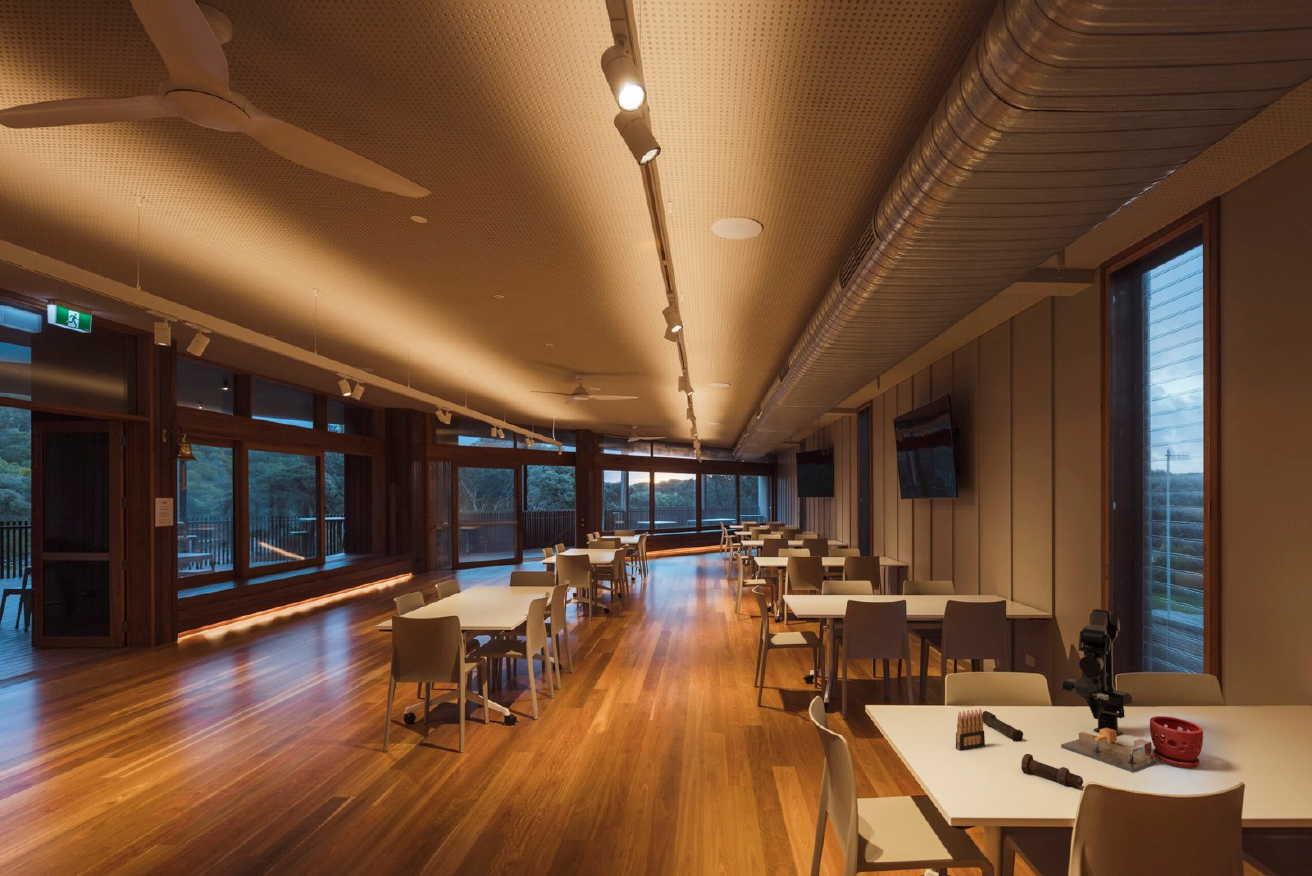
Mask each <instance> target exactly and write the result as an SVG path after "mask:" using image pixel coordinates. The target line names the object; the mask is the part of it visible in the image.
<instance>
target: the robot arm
mask: <svg viewBox="0 0 1312 876" xmlns="http://www.w3.org/2000/svg"><path fill="white" fill-rule="evenodd" d="M1120 631H1121V623H1120V619H1119V617H1118V616H1117V615H1114V614H1113V613H1112V612H1111V611H1110V610H1108V609H1103V608H1102V609H1101V608H1095V609H1092V612H1090V614H1089V625H1084V626H1083V628H1082V629H1081V630H1080V632H1079V640H1078V651H1079V652H1083V656H1082V658H1081V659H1080V660H1079V662H1078V663H1079V664H1078V665H1079V669H1080V671H1082V673H1081V678H1078V679H1074V678H1067V679H1064V680H1061V689H1062V690H1065V691H1067V692H1072V691H1073V690H1074V691H1075V694H1076V695H1079V696H1080V698H1083V699H1084V700H1085V701H1086V703H1087V705H1088V707H1089V710H1090V712H1091V715H1092V717H1093V718H1094V719H1095V720H1097V727H1096V728H1093V732H1098V733H1100V729H1103V728H1110V729H1113V730H1116V736H1120V735H1122V734H1123V731H1119V728H1118V727H1119V723H1118V722H1119V721H1118V719H1123V718H1124V719H1125V708H1124V706H1125V705H1130V704H1132V703H1133V697H1132V695H1131V693H1129V692H1125V691H1121V690H1117V689H1116V687H1115V685H1114V652H1113V651H1114V649H1113V648H1114V647H1113V646H1114V645H1113V644H1114V641H1115V640H1116V638H1117V637H1118V636H1119V635H1118V633H1119V632H1120Z"/></svg>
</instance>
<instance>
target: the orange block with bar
mask: <svg viewBox="0 0 1312 876" xmlns="http://www.w3.org/2000/svg"><path fill="white" fill-rule="evenodd" d="M1117 736H1118V735H1117ZM1117 736H1116V730H1113V729H1110V728H1103V729H1100V732H1099V736H1098V737H1096V738H1095V741H1096V750H1099V741H1106V742H1109V743H1111V742H1117Z"/></svg>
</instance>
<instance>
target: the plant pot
mask: <svg viewBox="0 0 1312 876" xmlns="http://www.w3.org/2000/svg"><path fill="white" fill-rule="evenodd" d="M1166 726H1167V727H1166ZM1179 728H1181V729H1182V730H1179ZM1149 733H1150V737H1151V741H1152V742H1151V743H1152V745H1153V746H1154V748H1153V750H1152V754H1154V758H1157V759H1156V760H1159V761H1160V762H1162V763H1165V764H1167V765H1170V766H1174V767H1177V768H1186V769H1193V768H1196V767H1198V766H1199V765H1200V763H1201V761H1200V759H1199V756H1200V755H1201V752H1202V751H1203V745H1204V730H1203V728H1202V727H1201V726H1200V725H1199V724H1197V723H1194V722H1191V721H1189V720H1186V719H1181V718H1178V717H1173V716H1165V715H1163V716H1161V715H1158V716H1152V717H1150V719H1149Z"/></svg>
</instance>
